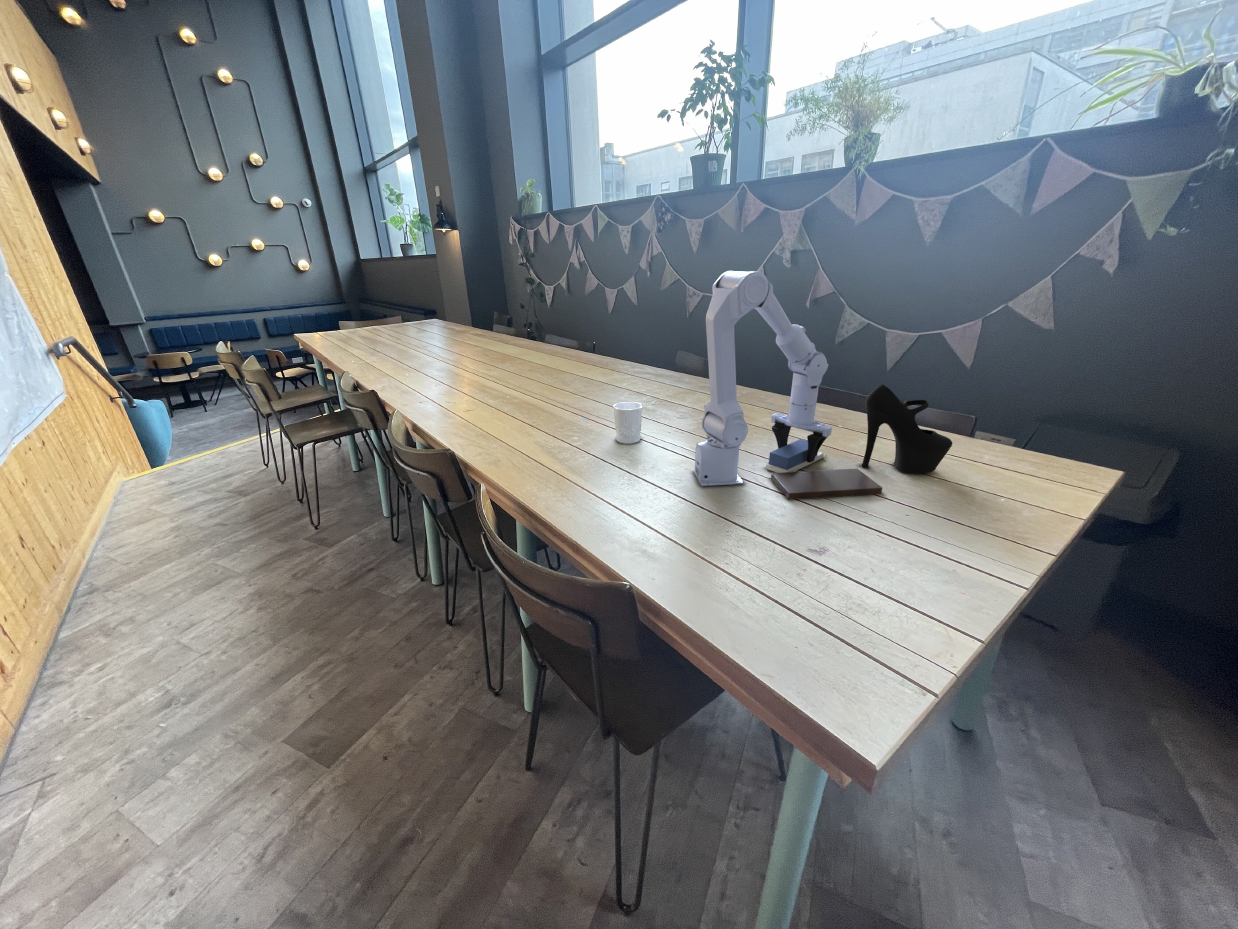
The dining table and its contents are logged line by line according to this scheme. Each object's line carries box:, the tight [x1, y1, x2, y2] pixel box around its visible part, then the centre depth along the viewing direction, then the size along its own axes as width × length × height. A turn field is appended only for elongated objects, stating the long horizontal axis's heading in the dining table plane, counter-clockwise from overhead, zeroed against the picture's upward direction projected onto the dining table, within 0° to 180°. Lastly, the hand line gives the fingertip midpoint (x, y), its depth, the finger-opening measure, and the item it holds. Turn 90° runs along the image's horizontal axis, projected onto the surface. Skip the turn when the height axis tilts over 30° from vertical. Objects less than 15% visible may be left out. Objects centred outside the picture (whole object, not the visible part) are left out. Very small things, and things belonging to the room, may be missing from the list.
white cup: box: [612, 401, 643, 445], centre depth 131 cm, size 8×8×10 cm
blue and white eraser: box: [765, 438, 825, 473], centre depth 114 cm, size 16×6×4 cm, turn 129°
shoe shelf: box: [770, 468, 883, 500], centre depth 102 cm, size 20×10×2 cm, turn 94°
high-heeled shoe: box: [861, 383, 953, 475], centre depth 106 cm, size 8×19×20 cm, turn 79°
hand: (796, 456), depth 114 cm, fingers open, 7 cm apart
